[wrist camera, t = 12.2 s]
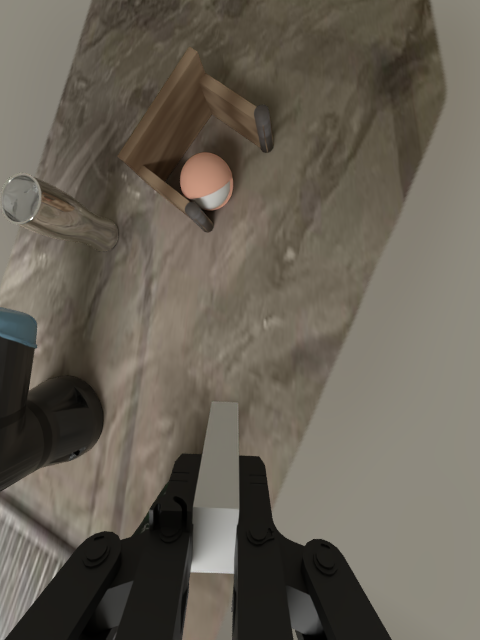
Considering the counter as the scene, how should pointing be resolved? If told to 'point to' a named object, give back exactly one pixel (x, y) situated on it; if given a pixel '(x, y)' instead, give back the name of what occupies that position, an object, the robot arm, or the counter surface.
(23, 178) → the beer glass
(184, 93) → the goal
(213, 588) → the counter surface
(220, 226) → the counter surface
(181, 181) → the toy ball
